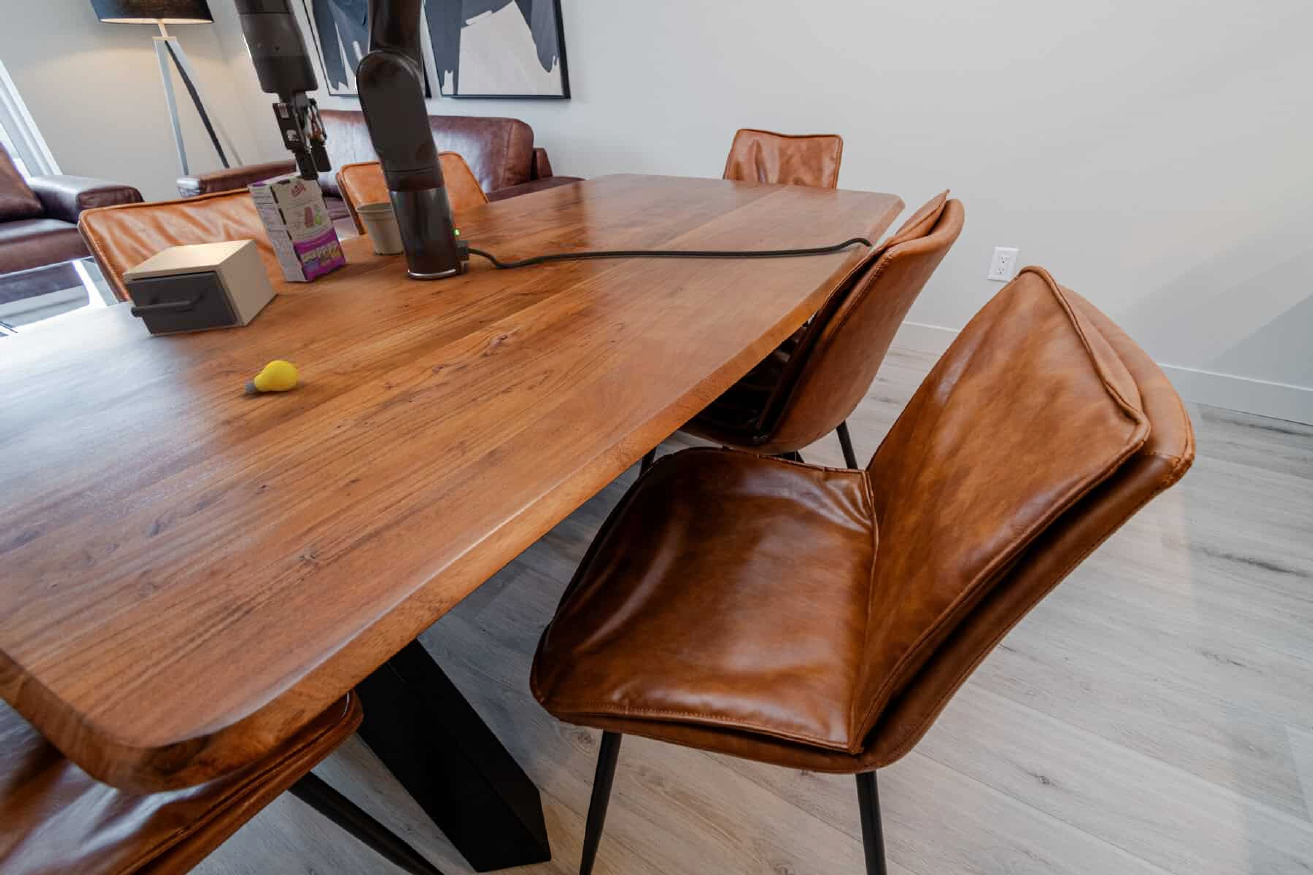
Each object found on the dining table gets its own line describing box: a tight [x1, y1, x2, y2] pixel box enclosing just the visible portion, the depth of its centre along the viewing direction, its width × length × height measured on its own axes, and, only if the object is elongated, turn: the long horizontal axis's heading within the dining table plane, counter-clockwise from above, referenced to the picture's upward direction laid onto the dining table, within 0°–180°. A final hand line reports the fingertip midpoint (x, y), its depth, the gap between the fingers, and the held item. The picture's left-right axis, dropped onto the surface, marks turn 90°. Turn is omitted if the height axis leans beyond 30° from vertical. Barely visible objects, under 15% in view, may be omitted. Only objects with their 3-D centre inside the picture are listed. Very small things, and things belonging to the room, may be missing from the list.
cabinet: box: [121, 238, 276, 337], centre depth 91 cm, size 15×12×9 cm
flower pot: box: [354, 200, 404, 255], centre depth 118 cm, size 9×9×9 cm
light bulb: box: [244, 360, 299, 395], centre depth 69 cm, size 3×6×4 cm, turn 103°
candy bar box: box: [246, 171, 347, 283], centre depth 105 cm, size 11×5×16 cm, turn 168°
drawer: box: [123, 270, 237, 335], centre depth 87 cm, size 18×11×7 cm, turn 13°
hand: (318, 175), depth 94 cm, fingers open, 8 cm apart
